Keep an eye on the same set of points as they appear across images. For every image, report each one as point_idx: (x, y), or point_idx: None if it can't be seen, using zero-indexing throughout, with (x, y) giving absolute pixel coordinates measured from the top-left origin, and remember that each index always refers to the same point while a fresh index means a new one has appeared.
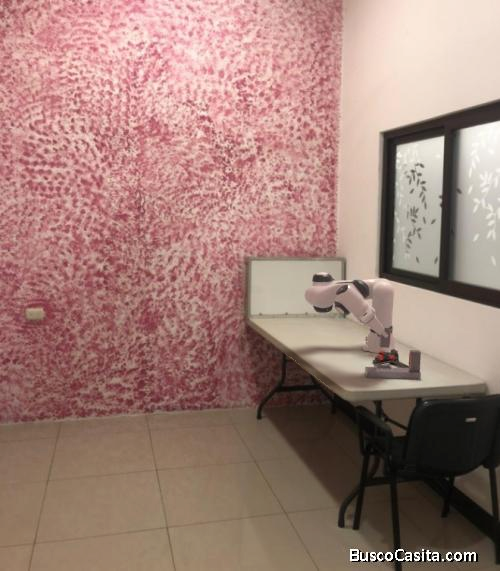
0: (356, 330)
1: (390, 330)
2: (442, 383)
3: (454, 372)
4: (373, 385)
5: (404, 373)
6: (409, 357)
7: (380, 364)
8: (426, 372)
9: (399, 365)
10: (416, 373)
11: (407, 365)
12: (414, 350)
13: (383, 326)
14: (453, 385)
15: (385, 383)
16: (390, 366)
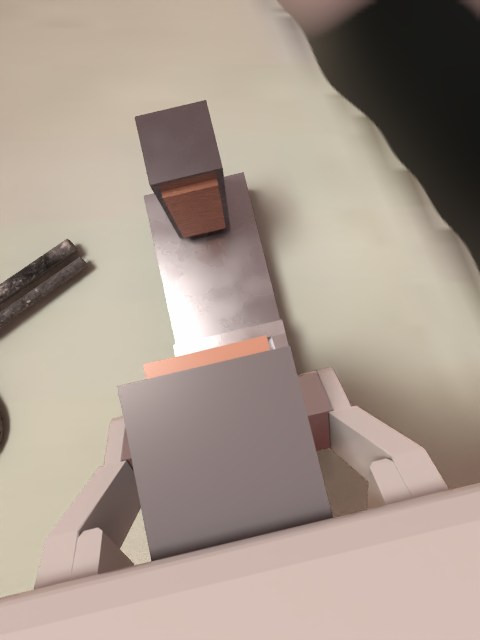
0: None
1: (266, 340)
2: (283, 86)
3: (47, 32)
4: (456, 419)
5: (264, 262)
6: (185, 209)
7: (1, 422)
8: (91, 164)
9: (28, 307)
10: (249, 196)
11: (39, 259)
12: (151, 150)
13: (151, 492)
14: (301, 38)
15: (392, 359)
16: (213, 346)
